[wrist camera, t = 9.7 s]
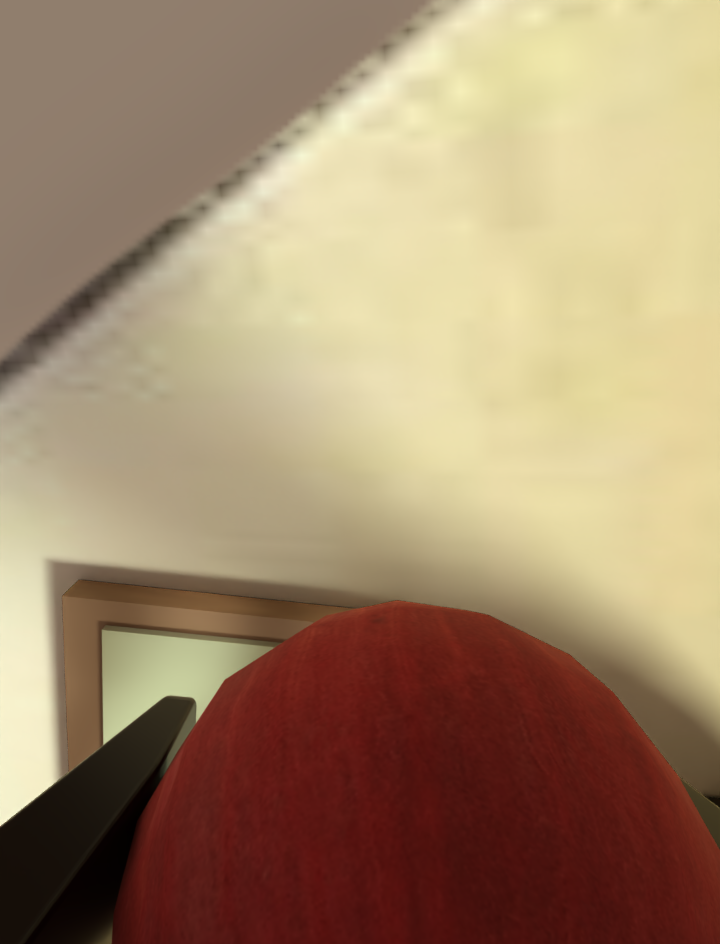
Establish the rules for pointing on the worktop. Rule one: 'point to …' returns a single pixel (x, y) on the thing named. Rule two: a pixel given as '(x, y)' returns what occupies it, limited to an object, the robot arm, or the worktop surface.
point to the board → (159, 650)
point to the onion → (418, 801)
